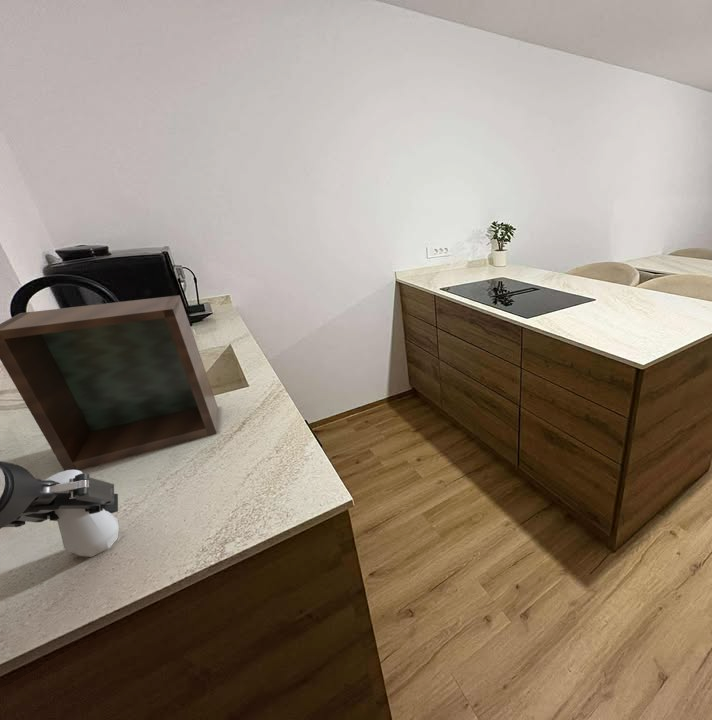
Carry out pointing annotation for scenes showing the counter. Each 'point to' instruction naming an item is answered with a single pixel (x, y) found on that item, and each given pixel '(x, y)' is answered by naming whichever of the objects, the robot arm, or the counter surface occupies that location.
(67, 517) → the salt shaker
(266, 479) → the counter surface
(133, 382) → the brown wooden box
